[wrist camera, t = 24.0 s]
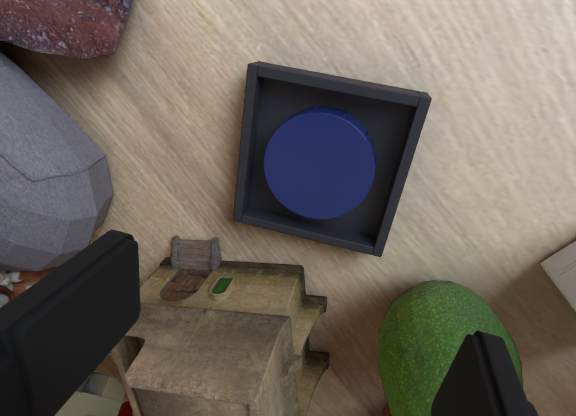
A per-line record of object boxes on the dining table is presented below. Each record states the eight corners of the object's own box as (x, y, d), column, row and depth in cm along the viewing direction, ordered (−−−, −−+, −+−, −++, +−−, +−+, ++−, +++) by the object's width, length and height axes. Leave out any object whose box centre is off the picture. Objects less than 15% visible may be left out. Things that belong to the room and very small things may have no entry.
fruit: (521, 290, 25) (624, 478, 14) (452, 361, 29) (494, 552, 18) (413, 238, 25) (437, 386, 15) (359, 315, 29) (346, 479, 18)
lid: (279, 96, 23) (270, 101, 21) (387, 118, 22) (388, 125, 20) (265, 194, 26) (257, 205, 24) (361, 217, 25) (359, 230, 23)
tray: (427, 92, 21) (432, 98, 19) (381, 242, 26) (381, 257, 24) (257, 61, 23) (247, 63, 21) (242, 208, 27) (232, 220, 25)
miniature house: (324, 241, 27) (290, 369, 16) (330, 383, 32) (307, 541, 22) (140, 234, 30) (18, 335, 20) (174, 362, 36) (94, 492, 26)
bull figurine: (-98, 281, 25) (-32, 247, 33) (69, 386, 30) (93, 334, 37) (-50, 236, 26) (5, 212, 33) (109, 346, 30) (125, 302, 38)
